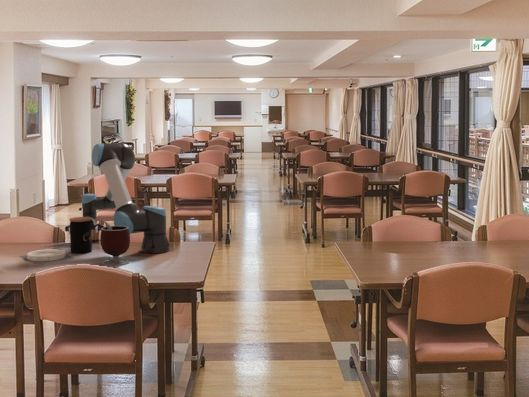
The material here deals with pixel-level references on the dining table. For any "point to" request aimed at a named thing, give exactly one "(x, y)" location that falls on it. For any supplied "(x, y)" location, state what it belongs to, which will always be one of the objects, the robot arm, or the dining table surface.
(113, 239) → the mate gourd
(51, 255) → the dish
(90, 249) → the coffee jar
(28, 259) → the mat
